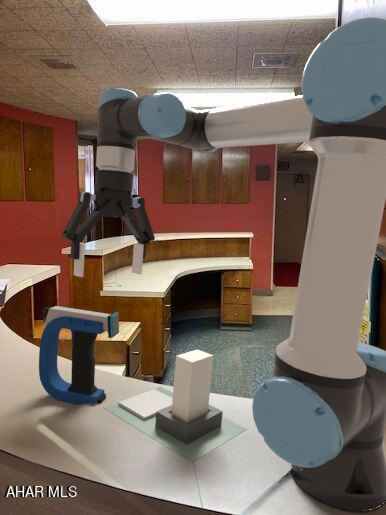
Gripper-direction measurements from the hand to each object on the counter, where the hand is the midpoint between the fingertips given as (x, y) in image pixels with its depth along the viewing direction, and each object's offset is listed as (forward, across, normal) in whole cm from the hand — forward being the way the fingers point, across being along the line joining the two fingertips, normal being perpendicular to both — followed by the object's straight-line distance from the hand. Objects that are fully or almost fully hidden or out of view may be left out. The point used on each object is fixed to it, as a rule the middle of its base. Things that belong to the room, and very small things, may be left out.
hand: (109, 274), depth 86 cm
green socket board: (+27, -7, +16) cm, 32 cm away
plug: (+26, -8, +20) cm, 34 cm away
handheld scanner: (+27, +5, -3) cm, 28 cm away
